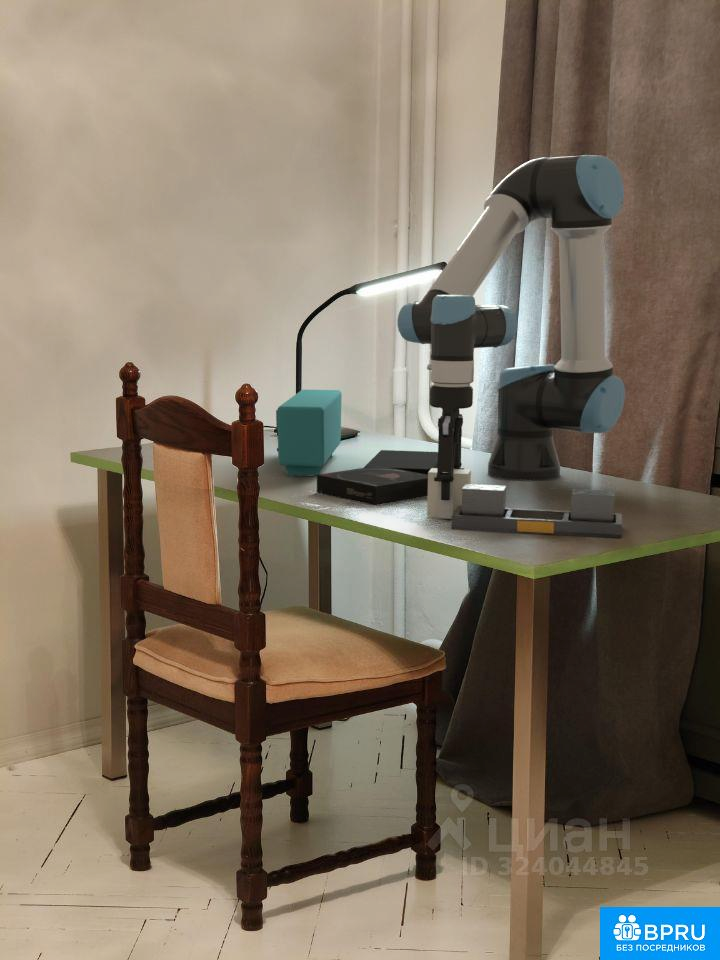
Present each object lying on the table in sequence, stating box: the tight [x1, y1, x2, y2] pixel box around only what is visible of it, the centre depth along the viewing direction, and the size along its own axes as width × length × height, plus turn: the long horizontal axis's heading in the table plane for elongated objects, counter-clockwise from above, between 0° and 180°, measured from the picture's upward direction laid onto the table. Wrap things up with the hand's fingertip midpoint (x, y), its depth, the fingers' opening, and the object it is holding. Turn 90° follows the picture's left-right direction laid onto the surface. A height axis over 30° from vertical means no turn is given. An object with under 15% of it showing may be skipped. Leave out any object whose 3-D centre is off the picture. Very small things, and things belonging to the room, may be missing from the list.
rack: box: [451, 483, 623, 539], centre depth 207 cm, size 9×28×7 cm, turn 78°
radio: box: [275, 389, 343, 476], centre depth 267 cm, size 34×10×15 cm, turn 174°
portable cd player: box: [316, 466, 428, 506], centre depth 237 cm, size 16×17×4 cm
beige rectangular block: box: [426, 468, 472, 518], centre depth 217 cm, size 4×7×8 cm, turn 78°
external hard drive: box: [363, 449, 438, 475], centre depth 262 cm, size 14×23×3 cm, turn 170°
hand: (448, 513), depth 217 cm, fingers open, 7 cm apart
